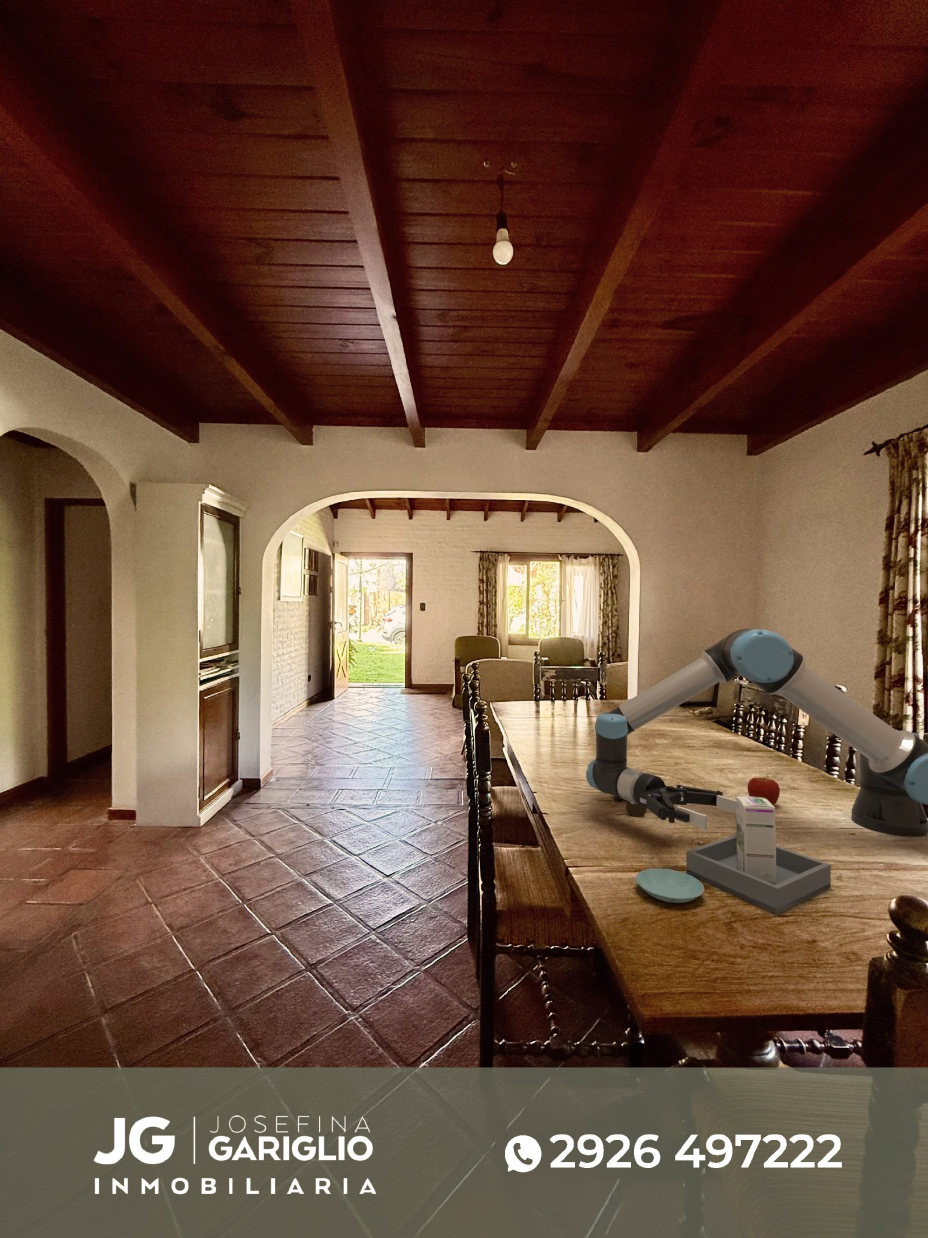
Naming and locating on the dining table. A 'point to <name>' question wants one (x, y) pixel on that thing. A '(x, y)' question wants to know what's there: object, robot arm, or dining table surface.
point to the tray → (792, 886)
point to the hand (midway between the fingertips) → (726, 816)
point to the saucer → (669, 885)
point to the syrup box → (756, 837)
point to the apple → (764, 789)
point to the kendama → (634, 808)
